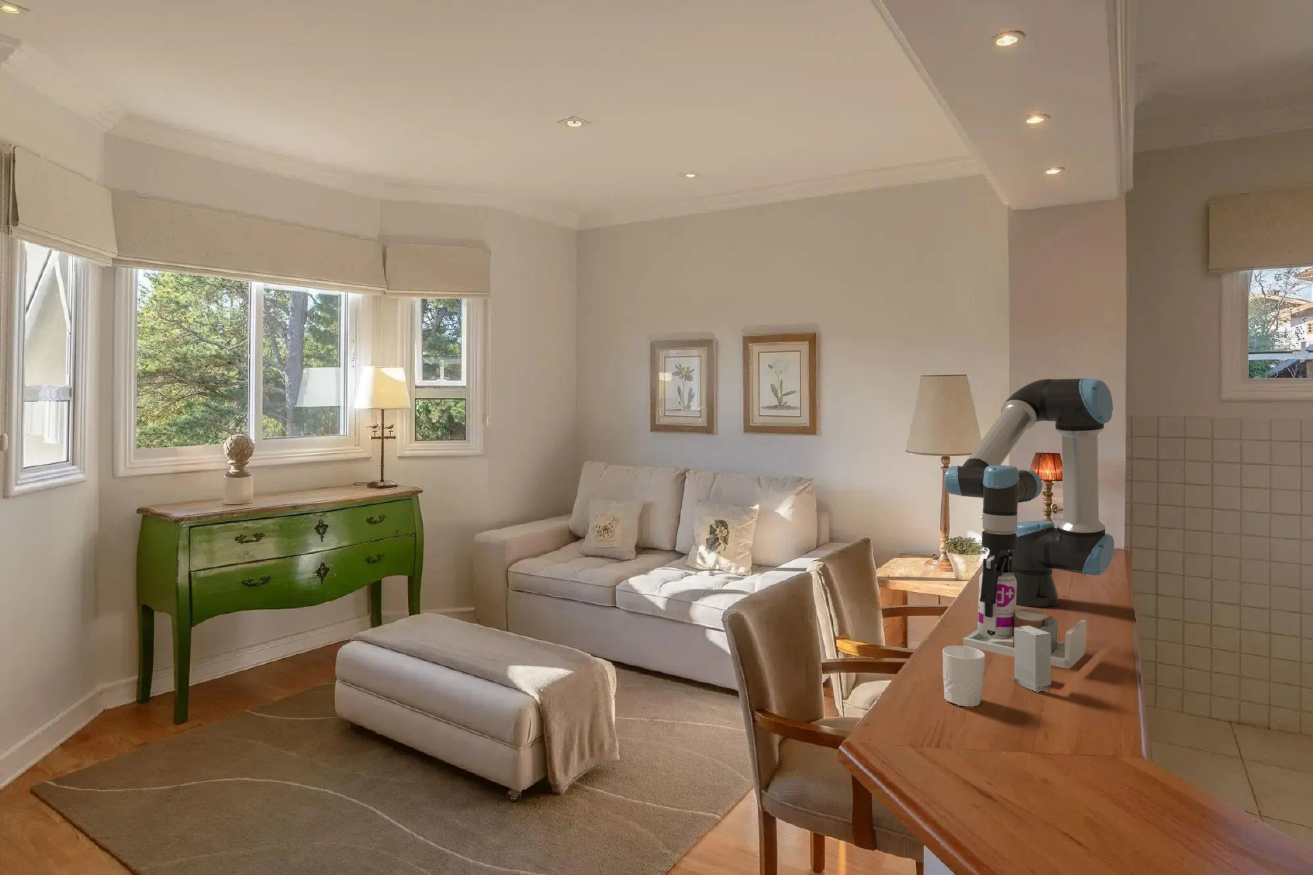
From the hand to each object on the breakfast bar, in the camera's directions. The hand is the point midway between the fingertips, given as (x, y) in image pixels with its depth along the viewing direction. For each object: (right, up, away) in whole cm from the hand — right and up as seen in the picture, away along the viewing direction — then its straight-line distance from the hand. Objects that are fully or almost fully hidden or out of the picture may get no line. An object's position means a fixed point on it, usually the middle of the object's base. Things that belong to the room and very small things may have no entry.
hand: (996, 625), depth 187 cm
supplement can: (0, -3, 0) cm, 2 cm away
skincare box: (-3, -8, -23) cm, 24 cm away
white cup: (-20, -8, -30) cm, 37 cm away
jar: (+6, -5, -5) cm, 9 cm away
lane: (+5, -6, -4) cm, 8 cm away
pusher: (+9, -5, -7) cm, 12 cm away
